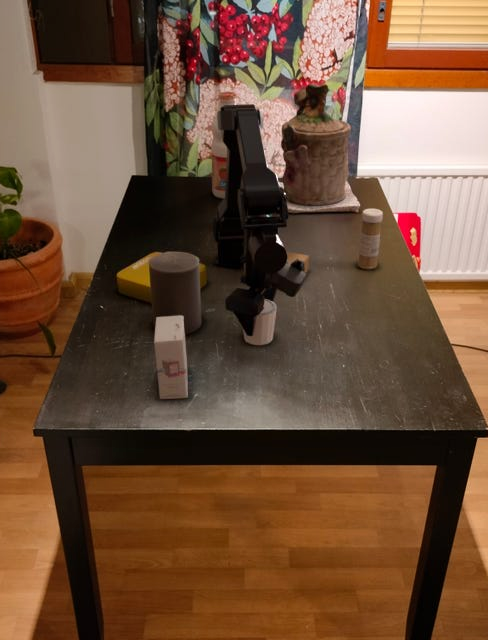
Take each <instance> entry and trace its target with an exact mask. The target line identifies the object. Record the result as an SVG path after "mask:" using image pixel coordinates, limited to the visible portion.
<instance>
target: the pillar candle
mask: <svg viewBox="0 0 488 640" xmlns="http://www.w3.org/2000/svg"><path fill="white" fill-rule="evenodd" d="M161 253H162V254H158V255H156V256H154V257H152V258H151V259H150V261H149V273H150V287H151V301H152V304H151V313H152V324H153V328H154V329H155V326H156V317H164V316H179V315H182V316H183V317H184V331H185V335H188V334H189V335H190V334H192V333H194V332H196V331H197V330H199V328H200V327H201V326H202V300H201V299H202V297H201V289H200V273H199V263H200V258H199V257H198V256H196V255H194V254H192V253H189V252H183V251H165V252H161Z"/></svg>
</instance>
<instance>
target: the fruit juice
mask: <svg viewBox="0 0 488 640" xmlns="http://www.w3.org/2000/svg"><path fill="white" fill-rule="evenodd" d="M237 98H238V95H237V93H236V92H234V91H221V92H219V93H218V101H219V105H218V108H217V111H216V114H215V116H214V118H213V120H212V122H211V128H210V129H211V133H212V140H211V147H210V148H211V150H210V152H211V153H210V154H211V190H212V195H213V196H215V197H216V198H219V199H222V200H223V199H224V198H225V186H226V162H227V147H226V145H225V144H224V142H223V139H222V135H221V130H218V123H217V113H218V111H220V109H221V107H223V106H224V105H237Z"/></svg>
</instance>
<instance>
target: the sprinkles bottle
mask: <svg viewBox="0 0 488 640" xmlns="http://www.w3.org/2000/svg"><path fill="white" fill-rule="evenodd" d="M361 213H362V214H361V231H360V239H359V240H360V241H359V249H358V262H357V265H358V267H359V268H361V269H363V270H373V269H374V270H375V268H377V266H378V255H379V251H380V250H379V249H380V241H381V228H382V222H383V217H384V213H383V211H382V210H380V209H378V208H365V209H363V210H362V212H361Z"/></svg>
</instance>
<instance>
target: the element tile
mask: <svg viewBox="0 0 488 640" xmlns="http://www.w3.org/2000/svg"><path fill="white" fill-rule="evenodd" d="M162 253H163V252H160V251H154V252H151V253H149V254H148V255H146V256H144V257H143V258H140V259H138V260H137V261H135V262H134V263H132V264H130V265H129V266H127V267H125V268H123V269H121V270H119V271H118V272H117V274H116V281H117V291H118V293H119V294H121V295H123V296H126V297H129V298H133V299H136V300H139V301H142V302H145V303H148V304H151V305H152V301H151V287H150V273H149V261H150V259H151V258H152V257H154V256H156V255H158V254H162ZM199 273H200V290H201V289H202V288H204V287H205V286H206V285H207V283H208V281H207V280H208V277H207V276H208V275H207V274H208V273H207V266H206V265H205V264H204V263H201V262H199Z"/></svg>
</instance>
